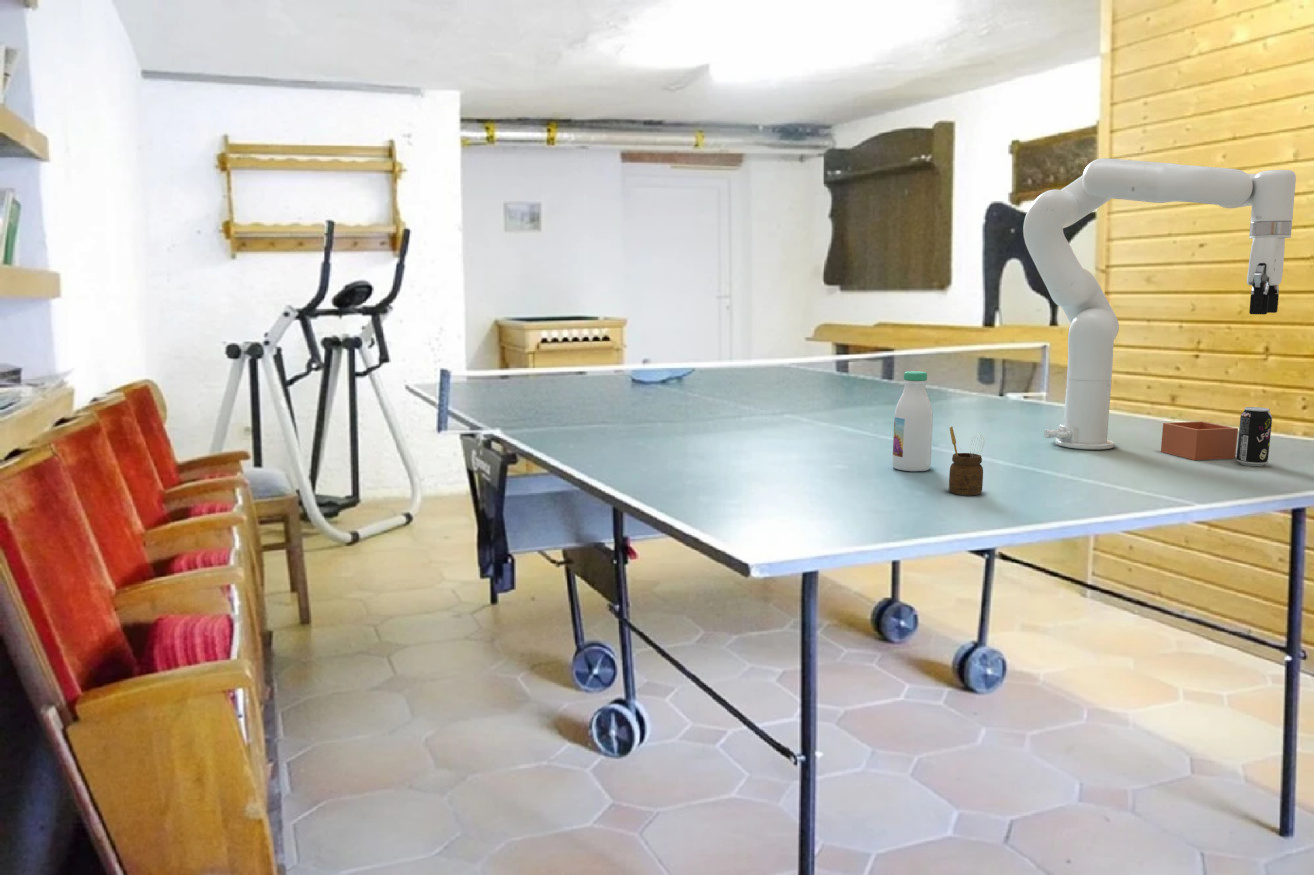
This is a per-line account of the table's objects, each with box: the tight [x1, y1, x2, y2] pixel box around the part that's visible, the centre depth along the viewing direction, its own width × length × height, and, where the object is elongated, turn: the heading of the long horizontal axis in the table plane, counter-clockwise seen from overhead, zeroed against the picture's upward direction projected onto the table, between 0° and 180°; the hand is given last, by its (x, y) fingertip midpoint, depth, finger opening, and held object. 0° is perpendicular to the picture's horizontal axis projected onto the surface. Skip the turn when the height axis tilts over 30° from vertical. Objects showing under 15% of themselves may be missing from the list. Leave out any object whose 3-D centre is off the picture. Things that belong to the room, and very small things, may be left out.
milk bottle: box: [891, 370, 934, 472], centre depth 207 cm, size 8×8×20 cm
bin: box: [1160, 420, 1239, 461], centre depth 224 cm, size 10×10×7 cm
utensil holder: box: [948, 426, 986, 496], centre depth 186 cm, size 6×6×12 cm
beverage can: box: [1235, 406, 1273, 467], centre depth 212 cm, size 6×6×12 cm
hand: (1263, 313), depth 215 cm, fingers open, 9 cm apart
